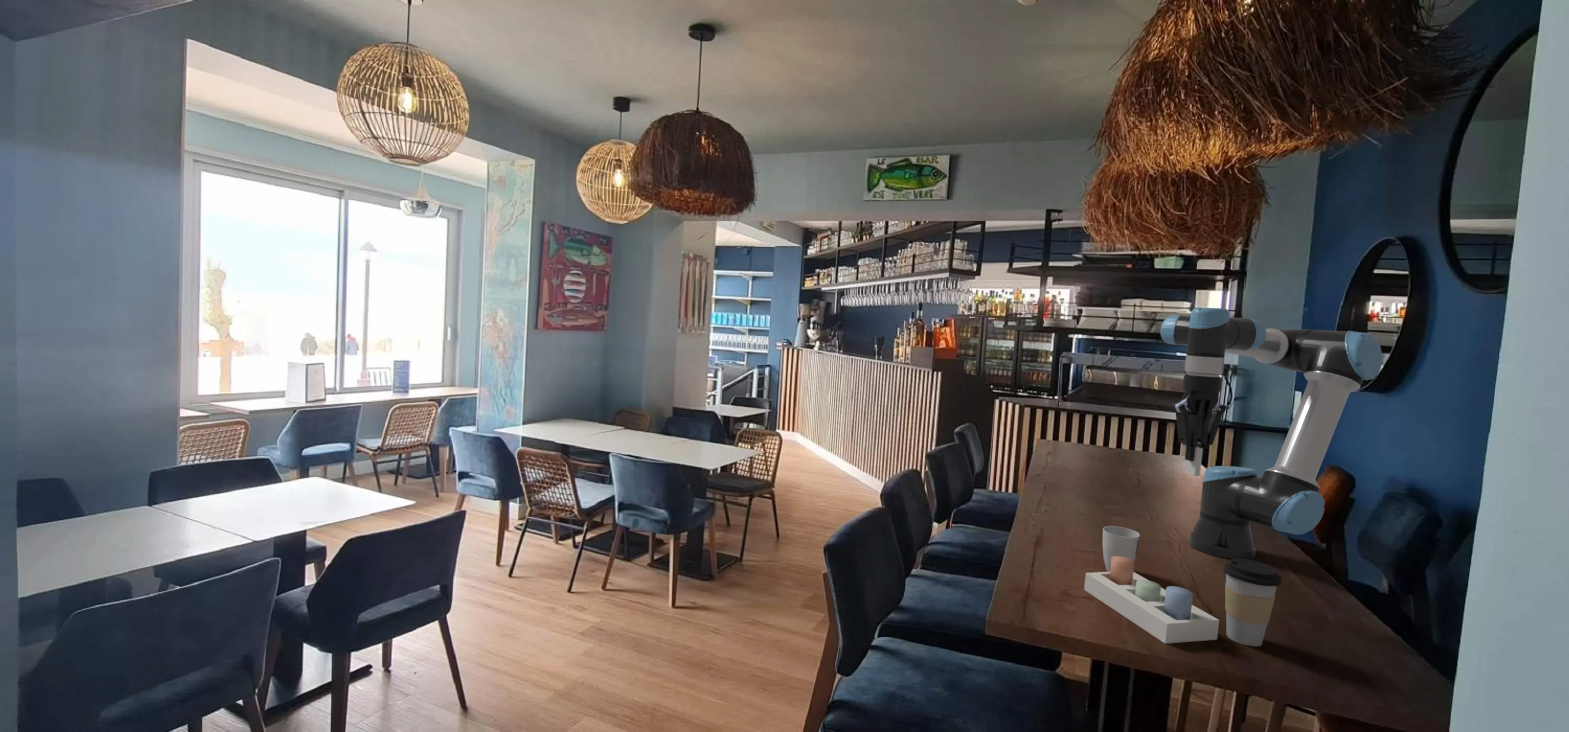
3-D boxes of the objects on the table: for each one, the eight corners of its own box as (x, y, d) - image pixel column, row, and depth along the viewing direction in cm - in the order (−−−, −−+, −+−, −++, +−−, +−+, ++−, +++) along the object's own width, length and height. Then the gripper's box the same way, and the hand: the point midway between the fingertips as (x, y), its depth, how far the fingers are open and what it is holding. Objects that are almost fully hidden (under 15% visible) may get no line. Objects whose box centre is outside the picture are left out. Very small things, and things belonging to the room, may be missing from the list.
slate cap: (1177, 609, 135) (1180, 585, 135) (1195, 619, 131) (1198, 595, 130) (1158, 610, 134) (1160, 586, 134) (1176, 621, 130) (1178, 596, 129)
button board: (1129, 587, 154) (1131, 570, 153) (1217, 639, 130) (1219, 619, 130) (1084, 589, 151) (1085, 572, 151) (1165, 643, 128) (1167, 623, 127)
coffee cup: (1205, 627, 135) (1213, 556, 134) (1248, 627, 136) (1256, 557, 135) (1240, 651, 126) (1249, 575, 124) (1286, 651, 127) (1296, 576, 125)
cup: (1140, 579, 158) (1144, 539, 158) (1104, 575, 160) (1107, 535, 159) (1130, 566, 166) (1133, 527, 165) (1095, 562, 168) (1099, 524, 167)
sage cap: (1147, 601, 143) (1149, 579, 143) (1163, 611, 139) (1166, 588, 138) (1129, 602, 142) (1131, 580, 142) (1144, 612, 138) (1147, 589, 137)
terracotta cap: (1122, 576, 151) (1124, 555, 150) (1137, 585, 146) (1139, 563, 146) (1104, 577, 150) (1106, 556, 149) (1119, 586, 145) (1121, 564, 145)
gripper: (1212, 373, 158) (1202, 469, 160) (1166, 372, 155) (1156, 470, 158) (1240, 377, 151) (1229, 478, 153) (1192, 375, 148) (1181, 478, 150)
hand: (1192, 474), depth 155 cm, fingers closed
